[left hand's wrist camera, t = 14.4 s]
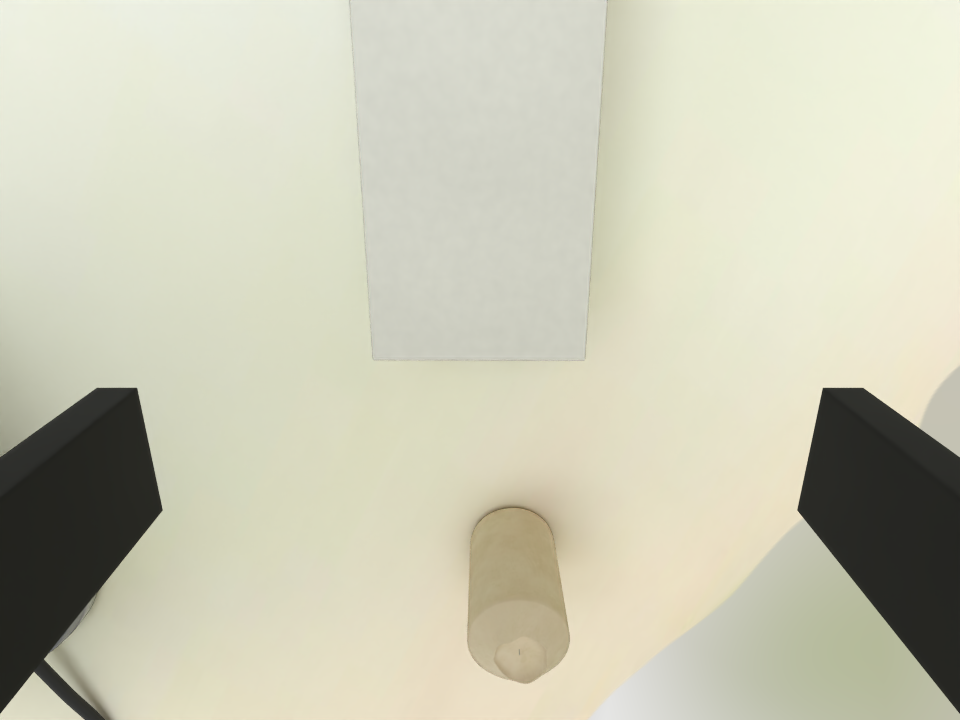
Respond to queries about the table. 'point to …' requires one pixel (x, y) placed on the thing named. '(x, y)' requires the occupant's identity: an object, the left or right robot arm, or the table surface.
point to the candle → (515, 597)
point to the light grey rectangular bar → (478, 174)
